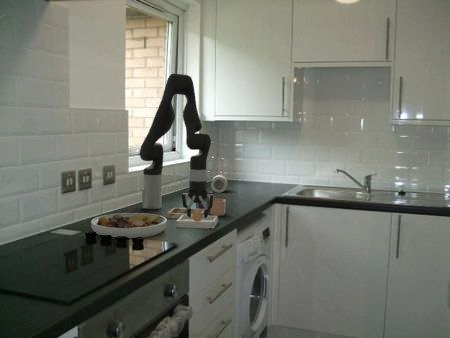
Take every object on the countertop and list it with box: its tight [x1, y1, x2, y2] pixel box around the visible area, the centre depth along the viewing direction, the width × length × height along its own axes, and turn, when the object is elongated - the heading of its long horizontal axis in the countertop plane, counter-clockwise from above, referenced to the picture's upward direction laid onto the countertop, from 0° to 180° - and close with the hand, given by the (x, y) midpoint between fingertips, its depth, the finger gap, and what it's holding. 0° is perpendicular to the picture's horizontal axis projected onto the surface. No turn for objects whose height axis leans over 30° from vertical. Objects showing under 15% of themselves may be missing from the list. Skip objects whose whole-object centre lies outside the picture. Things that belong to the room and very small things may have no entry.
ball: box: [192, 211, 203, 221], centre depth 214 cm, size 4×4×4 cm
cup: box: [209, 198, 226, 217], centre depth 237 cm, size 7×7×7 cm
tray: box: [175, 215, 219, 230], centre depth 214 cm, size 16×14×3 cm
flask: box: [195, 190, 215, 211], centre depth 249 cm, size 9×3×11 cm, turn 109°
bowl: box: [90, 212, 168, 239], centre depth 199 cm, size 30×30×8 cm
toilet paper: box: [210, 174, 228, 194], centre depth 312 cm, size 10×10×10 cm
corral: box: [166, 207, 205, 219], centre depth 233 cm, size 16×14×2 cm
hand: (197, 217), depth 214 cm, fingers open, 6 cm apart
